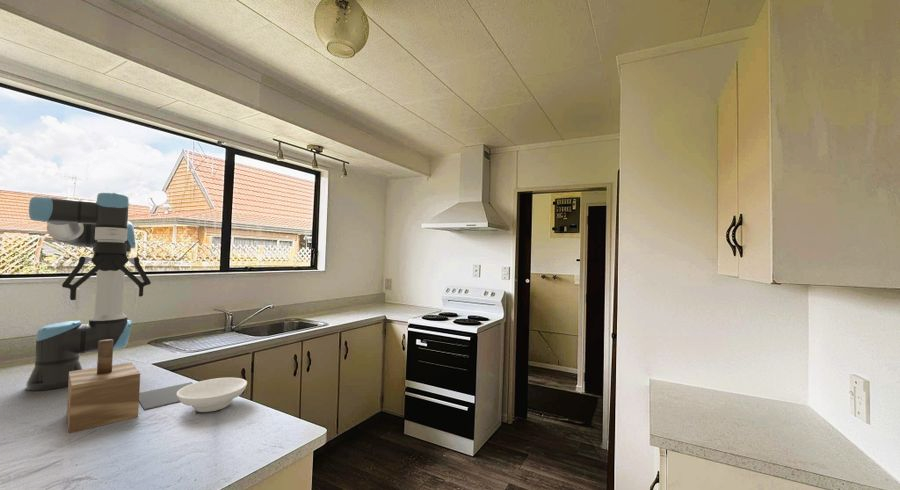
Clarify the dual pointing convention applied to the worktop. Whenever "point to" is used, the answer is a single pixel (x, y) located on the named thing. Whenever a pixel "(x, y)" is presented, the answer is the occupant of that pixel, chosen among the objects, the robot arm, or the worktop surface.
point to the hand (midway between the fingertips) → (107, 308)
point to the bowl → (211, 393)
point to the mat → (160, 396)
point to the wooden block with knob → (102, 392)
